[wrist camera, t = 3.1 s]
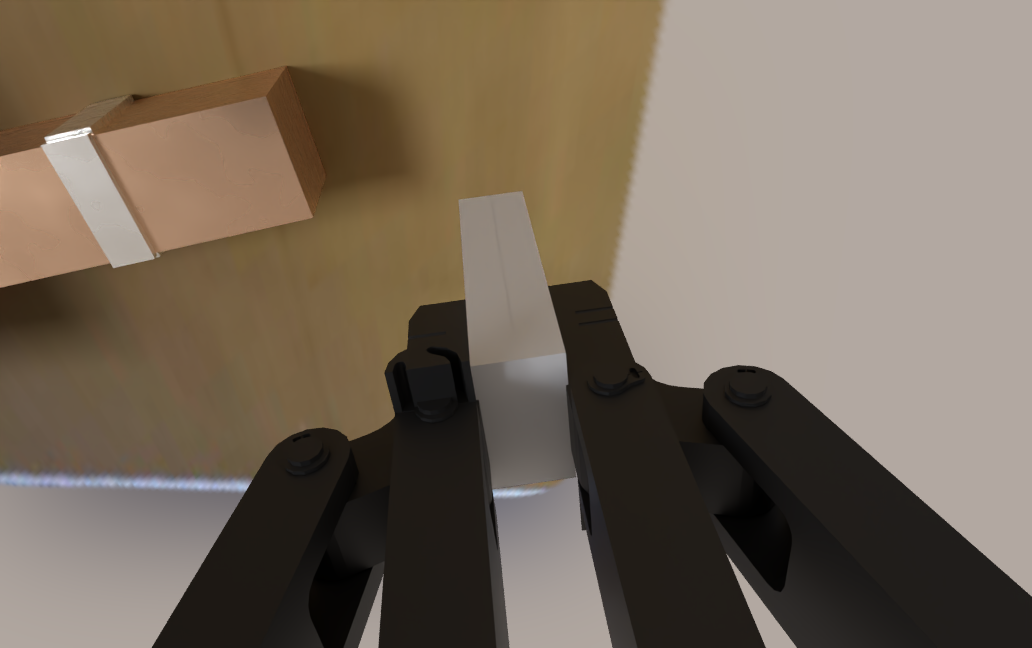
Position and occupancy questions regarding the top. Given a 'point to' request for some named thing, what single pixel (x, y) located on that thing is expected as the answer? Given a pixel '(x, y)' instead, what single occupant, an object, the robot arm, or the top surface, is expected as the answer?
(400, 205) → the top surface
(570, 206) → the top surface
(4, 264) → the banded cardboard box
